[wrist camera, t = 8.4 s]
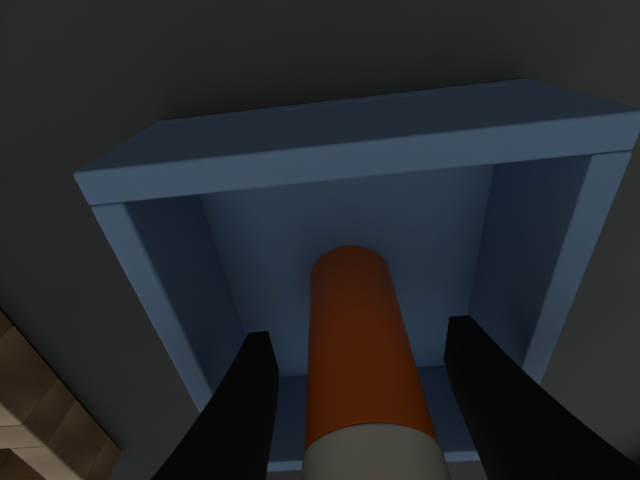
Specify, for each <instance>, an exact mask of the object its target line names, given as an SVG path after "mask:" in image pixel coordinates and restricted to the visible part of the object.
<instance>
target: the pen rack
mask: <svg viewBox="0 0 640 480" xmlns="http://www.w3.org/2000/svg"><path fill="white" fill-rule="evenodd" d="M120 453H121V451H120V449H119V448H118V447H117V446H116V445H115V443H114V442H113V441H112V440H111V439H110V438H109V436H107V435H106V434H105V432H104V431H103V430H102V429H101V428H100V426H99V425H98V424H97V423H96V422H95V421H94V419H93V418H92V417H91V416H90V415H89V414H88V412H87V411H86V410H85V409H84V408H83V407H82V405H81V404H80V403H79V402H78V401H77V400H75V397H74V396H73V395H72V394H71V392H70V391H69V390H68V389H67V388H66V386H65V385H64V384H63V383H62V382H61V381H60V379H59V378H57V376H56V375H55V373H54V372H53V371H52V370H51V369H50V368H49V366H48V365H47V364H46V363H45V362H44V360H43V359H42V358H41V357H40V356H39V355H38V353H37V352H36V351H35V350H34V349H33V348H32V346H31V345H30V344H29V343H28V342H27V341H26V339H25V338H24V337H23V336H22V335H21V333H20V332H19V331H18V330H17V329H16V328H15V326H13V325H12V323H11V322H10V321H9V320H8V318H7V317H6V316H5V315H4V314H3V313H2V311H1V310H0V480H108V479H109V477H110V475H111V472H112V470H113V468H114V466H115V464H116V462H117V459H118V457H119V455H120Z"/></svg>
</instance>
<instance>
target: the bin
mask: <svg viewBox="0 0 640 480" xmlns="http://www.w3.org/2000/svg"><path fill="white" fill-rule="evenodd" d="M639 133H640V109H639V108H635V107H631V106H627V105H624V104H620V103H616V102H612V101H608V100H605V99H601V98H597V97H593V96H589V95H586V94H582V93H578V92H574V91H570V90H567V89H563V88H559V87H555V86H551V85H548V84H544V83H540V82H536V81H533V80H529V79H525V78H523V79H514V80H506V81H497V82H488V83H480V84H471V85H463V86H454V87H445V88H437V89H428V90H420V91H411V92H402V93H394V94H385V95H377V96H368V97H359V98H351V99H342V100H333V101H325V102H316V103H308V104H299V105H290V106H282V107H273V108H265V109H256V110H247V111H239V112H230V113H222V114H213V115H204V116H196V117H187V118H179V119H170V120H161V121H158V122H157V123H155V124H153V125H152V126H150V127H149V128H147V129H145V130H144V131H142V132H140V133H139V134H137V135H135V136H134V137H132V138H130V139H129V140H127V141H125V142H124V143H122V144H121V145H119V146H117V147H116V148H114V149H112V150H111V151H109V152H107V153H106V154H104V155H102V156H101V157H99V158H97V159H96V160H94V161H92V162H91V163H89V164H88V165H86V166H84V167H83V168H81V169H79V170H78V171H76V172H74V178H75V180H76V181H77V183H78V185H79V187H80V189H81V191H82V193H83V195H84V196H85V198H86V200H87V202H88V203H89V204H90V205H93V206H92V207H91V208H92V211H93V213H94V215H95V217H96V219H97V221H98V223H99V225H100V226H101V228H102V230H103V232H104V234H105V236H106V238H107V240H108V241H109V243H110V245H111V247H112V249H113V251H114V253H115V255H116V256H117V258H118V260H119V262H120V264H121V266H122V268H123V270H124V271H125V273H126V275H127V277H128V279H129V281H130V283H131V285H132V286H133V288H134V290H135V292H136V294H137V296H138V298H139V300H140V301H141V303H142V305H143V307H144V309H145V311H146V313H147V315H148V316H149V318H150V320H151V322H152V324H153V326H154V328H155V330H156V331H157V333H158V335H159V337H160V339H161V341H162V343H163V345H164V346H165V348H166V350H167V352H168V354H169V356H170V358H171V360H172V361H173V363H174V365H175V367H176V369H177V371H178V373H179V375H180V376H181V378H182V380H183V382H184V384H185V386H186V388H187V390H188V391H189V393H190V395H191V397H192V399H193V401H194V403H195V405H196V406H197V408H198V410H199V412H200V413H201V412H202V410H203V409H204V407H205V406H206V404H207V403H208V401H209V400H210V398H211V397H212V395H213V394H214V392H215V390H216V389H217V387H218V386H219V384H220V382H221V381H222V379H223V377H224V376H225V374H226V372H227V371H228V369H229V367H230V365H231V364H232V362H233V360H234V358H235V357H236V355H237V353H238V351H239V349H240V347H241V346H242V344H243V342H244V340H245V338H246V336H247V335H248V334H249V333H250V332H260V331H268V332H269V336H270V339H271V343H272V347H273V350H274V354H275V357H276V361H277V365H278V368H279V388H278V404H277V411H276V417H275V424H274V430H273V436H272V443H271V449H270V455H269V461H268V468H267V472H270V471H288V470H302V460H303V457H304V454H305V424H306V395H307V365H308V336H309V307H310V278H311V272H312V269H313V267H314V265H315V263H316V262H317V261H318V260H319V258H321V257H322V256H323V255H324V254H326V253H327V252H329V251H331V250H333V249H336V248H339V247H343V246H360V247H365V248H368V249H370V250H372V251H374V252H376V253H377V254H379V255H380V256H381V257H382V258H383V259H384V260H385V262H386V263H387V266H388V268H389V271H390V275H391V278H392V282H393V286H394V289H395V293H396V296H397V300H398V303H399V307H400V310H401V314H402V317H403V321H404V324H405V328H406V331H407V335H408V338H409V342H410V345H411V349H412V352H413V356H414V359H415V363H416V366H417V370H418V373H419V377H420V380H421V384H422V387H423V391H424V394H425V398H426V401H427V405H428V408H429V412H430V415H431V419H432V422H433V426H434V429H435V433H436V436H437V440H438V444H439V445H440V447H441V448H442V450H443V453H444V456H445V460H446V462H454V461H473V460H480V458H479V455H478V453H477V451H476V448H475V446H474V443H473V441H472V438H471V436H470V434H469V431H468V429H467V426H466V424H465V421H464V419H463V416H462V414H461V412H460V409H459V407H458V404H457V402H456V399H455V397H454V394H453V391H452V388H451V385H450V381H449V378H448V374H447V371H446V367H445V363H444V360H443V359H444V351H445V344H446V337H447V329H448V322H449V317H452V316H464V315H470V316H471V317H472V318H473V319H474V320H475V321H476V322H477V323H478V324H479V325H480V327H481V328H482V329H483V330H484V331H485V332H486V333H487V334H488V335H489V336H490V337H491V338H492V339H493V340H494V341H495V342H496V343H497V344H498V345H499V346H500V348H501V349H502V350H503V351H504V352H505V353H506V354H507V355H508V356H509V357H510V358H511V359H512V360H513V361H514V362H515V363H516V364H517V365H519V366H520V367H521V368H522V369H523V370H524V371H525V372H526V373H527V374H528V375H529V376H530V377H531V378H532V379H533V380H534V381H535V382H536V383H537V384H538V385H540V383H541V380H542V378H543V375H544V373H545V370H546V368H547V365H548V363H549V360H550V358H551V355H552V353H553V350H554V348H555V345H556V343H557V340H558V338H559V335H560V333H561V330H562V328H563V325H564V323H565V320H566V318H567V315H568V313H569V310H570V308H571V305H572V303H573V300H574V298H575V295H576V293H577V290H578V288H579V285H580V283H581V280H582V278H583V275H584V273H585V270H586V268H587V265H588V262H589V260H590V257H591V255H592V252H593V250H594V247H595V245H596V242H597V240H598V237H599V235H600V232H601V230H602V227H603V225H604V222H605V220H606V217H607V215H608V212H609V210H610V207H611V205H612V202H613V200H614V197H615V195H616V192H617V190H618V187H619V185H620V182H621V180H622V177H623V175H624V172H625V170H626V167H627V165H628V162H629V160H630V157H631V155H632V152H631V151H629V150H631V149H632V148H633V147H634V145H635V143H636V140H637V138H638V135H639Z"/></svg>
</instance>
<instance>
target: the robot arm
mask: <svg viewBox="0 0 640 480" xmlns="http://www.w3.org/2000/svg"><path fill="white" fill-rule="evenodd" d="M443 360H444V363H445V367H446V371H447V374H448V378H449V381H450V385H451V388H452V391H453V394H454V397H455V399H456V402H457V404H458V407H459V409H460V412H461V414H462V416H463V419H464V421H465V424H466V426H467V429H468V431H469V434H470V436H471V438H472V441H473V443H474V446H475V448H476V451H477V453H478V455H479V458H480V460H481V463H482V465H483V468H484V470H485V473H486V476H487V479H488V480H640V467H639V466H638V465H637V464H635V463H634V462H632V461H631V460H630V459H628V458H627V457H626V456H624V455H623V454H622V453H620V452H619V451H618V450H616V449H615V448H614V447H612V446H611V445H610V444H609V443H607V442H606V441H605V440H603V439H602V438H601V437H599V436H598V435H597V434H596V433H594V432H593V431H592V430H591V429H589V428H588V427H587V426H586V425H584V424H583V423H582V422H581V421H580V420H578V419H577V418H576V417H575V416H574V415H572V414H571V413H570V412H569V411H568V410H567V409H565V408H564V407H563V406H562V405H561V404H560V403H558V402H557V401H556V400H555V399H554V398H553V397H552V396H551V395H549V394H548V393H547V392H546V391H545V390H544V389H543V388H542V387H541V386H540V385H538V384H537V383H536V382H535V381H534V380H533V379H532V378H531V377H530V376H529V375H528V374H527V373H526V372H525V371H524V370H523V369H522V368H521V367H520V366H519V365H517V364H516V363H515V362H514V361H513V360H512V359H511V358H510V357H509V356H508V355H507V354H506V353H505V352H504V351H503V350H502V349H501V348H500V346H499V345H498V344H497V343H496V342H495V341H494V340H493V339H492V338H491V337H490V336H489V335H488V334H487V333H486V332H485V331H484V330H483V329H482V328H481V327H480V325H479V324H478V323H477V322H476V321H475V320H474V319H473V318H472V317H471V316H470V315H464V316H452V317H449V322H448V329H447V337H446V344H445V351H444V359H443ZM278 388H279V368H278V365H277V361H276V357H275V354H274V350H273V347H272V343H271V339H270V336H269V332H268V331H260V332H250V333H249V334H248V335H247V336H246V338H245V340H244V342H243V344H242V346H241V347H240V349H239V351H238V353H237V355H236V357H235V358H234V360H233V362H232V364H231V365H230V367H229V369H228V371H227V372H226V374H225V376H224V377H223V379H222V381H221V382H220V384H219V386H218V387H217V389H216V390H215V392H214V394H213V395H212V397H211V398H210V400H209V401H208V403H207V404H206V406H205V407H204V409H203V410H202V412H201V413H200V415H199V416H198V418H197V419H196V421H195V422H194V424H193V425H192V427H191V428H190V429H189V431H188V432H187V434H186V435H185V436H184V438H183V439H182V440H181V442H180V443H179V444H178V446H177V447H176V448H175V450H174V451H173V452H172V454H171V455H170V456H169V457H168V459H167V460H166V461H165V462H164V464H163V465H162V466H161V467H160V469H159V470H158V471H157V472H156V473H155V475H154V476H153V477H152V478H151V479H150V480H266V474H267V468H268V461H269V455H270V449H271V443H272V436H273V430H274V424H275V417H276V411H277V404H278Z"/></svg>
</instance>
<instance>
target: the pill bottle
mask: <svg viewBox="0 0 640 480" xmlns="http://www.w3.org/2000/svg"><path fill="white" fill-rule="evenodd" d="M301 480H451V477H450V473H449V470H448V467H447V463H446V460H445V456H444V453H443V450H442V448H441V447H440V445H439V444H438V440H437V436H436V433H435V429H434V426H433V422H432V419H431V415H430V412H429V408H428V405H427V401H426V398H425V394H424V391H423V387H422V384H421V380H420V377H419V373H418V370H417V366H416V363H415V359H414V356H413V352H412V349H411V345H410V342H409V338H408V335H407V331H406V328H405V324H404V321H403V317H402V314H401V310H400V307H399V303H398V300H397V296H396V293H395V289H394V286H393V282H392V278H391V275H390V271H389V268H388V266H387V263H386V262H385V260H384V259H383V258H382V257H381V256H380V255H379V254H377V253H376V252H374V251H372V250H370V249H368V248H365V247H360V246H343V247H339V248H336V249H333V250H331V251H329V252H327V253H326V254H324V255H323V256H322V257H321V258H319V260H318V261H317V262H316V263H315V265H314V267H313V269H312V272H311V278H310V307H309V336H308V365H307V395H306V424H305V454H304V457H303V460H302V477H301Z"/></svg>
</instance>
